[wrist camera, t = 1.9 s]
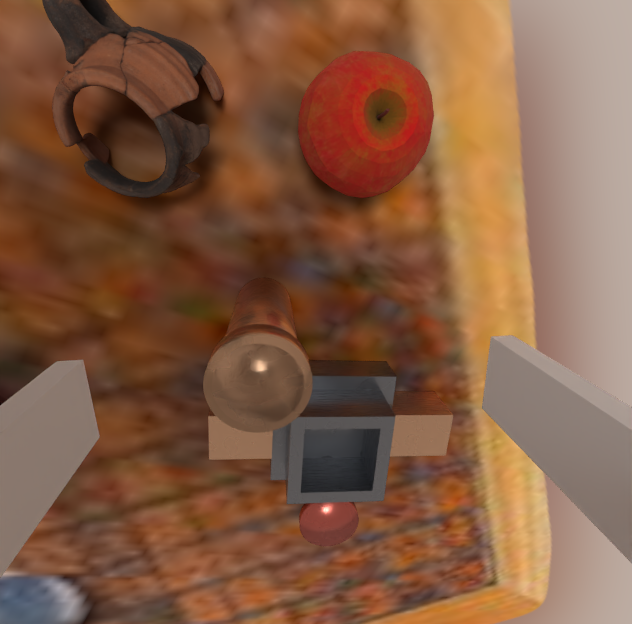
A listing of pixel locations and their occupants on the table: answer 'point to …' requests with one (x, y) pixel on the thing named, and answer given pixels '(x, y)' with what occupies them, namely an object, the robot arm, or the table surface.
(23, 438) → the robot arm
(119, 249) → the table surface
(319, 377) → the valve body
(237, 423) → the pipe fitting
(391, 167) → the apple
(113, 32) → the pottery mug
